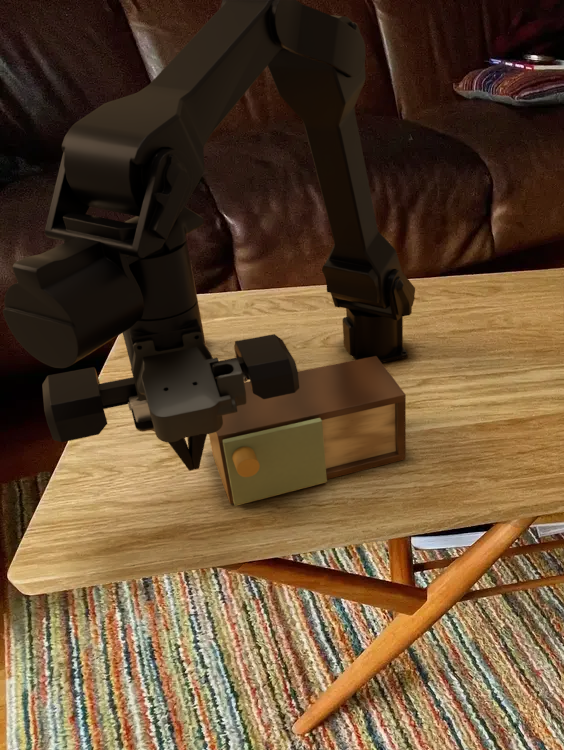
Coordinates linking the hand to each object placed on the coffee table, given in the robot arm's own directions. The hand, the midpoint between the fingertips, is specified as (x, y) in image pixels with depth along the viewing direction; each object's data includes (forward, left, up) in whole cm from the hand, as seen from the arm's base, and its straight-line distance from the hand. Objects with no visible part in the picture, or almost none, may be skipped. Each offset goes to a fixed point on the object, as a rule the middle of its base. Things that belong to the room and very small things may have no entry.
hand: (193, 467), depth 66 cm
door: (-7, 0, -6) cm, 10 cm away
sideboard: (-12, -6, -7) cm, 15 cm away
